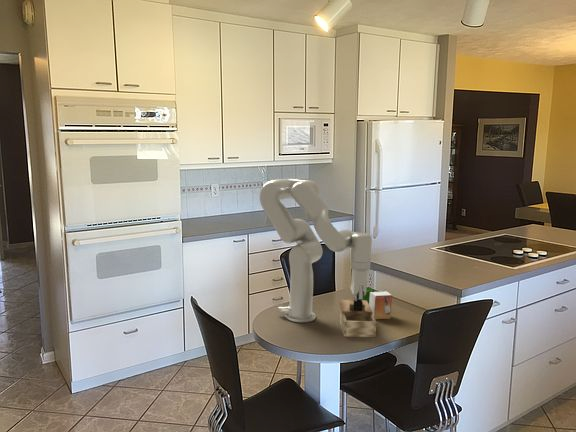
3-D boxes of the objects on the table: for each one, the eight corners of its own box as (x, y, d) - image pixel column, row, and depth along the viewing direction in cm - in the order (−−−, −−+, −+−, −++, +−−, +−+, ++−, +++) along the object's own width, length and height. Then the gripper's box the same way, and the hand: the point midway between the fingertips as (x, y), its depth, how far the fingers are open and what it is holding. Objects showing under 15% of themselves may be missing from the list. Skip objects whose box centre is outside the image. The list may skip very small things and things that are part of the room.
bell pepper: (377, 307, 218) (378, 285, 217) (361, 309, 215) (362, 287, 214) (367, 301, 226) (369, 280, 224) (352, 303, 223) (353, 282, 221)
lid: (342, 313, 191) (342, 305, 191) (338, 301, 205) (338, 294, 204) (372, 313, 191) (373, 305, 191) (366, 302, 205) (367, 294, 205)
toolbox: (344, 336, 184) (344, 321, 183) (339, 322, 198) (340, 308, 197) (375, 337, 184) (376, 322, 183) (369, 323, 198) (369, 309, 197)
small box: (373, 320, 202) (375, 295, 201) (368, 315, 208) (369, 291, 206) (391, 318, 204) (392, 294, 203) (385, 314, 210) (386, 290, 208)
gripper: (348, 259, 194) (346, 303, 197) (353, 269, 180) (350, 316, 182) (367, 260, 194) (364, 304, 197) (373, 270, 180) (370, 317, 182)
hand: (357, 310), depth 190 cm, fingers closed
